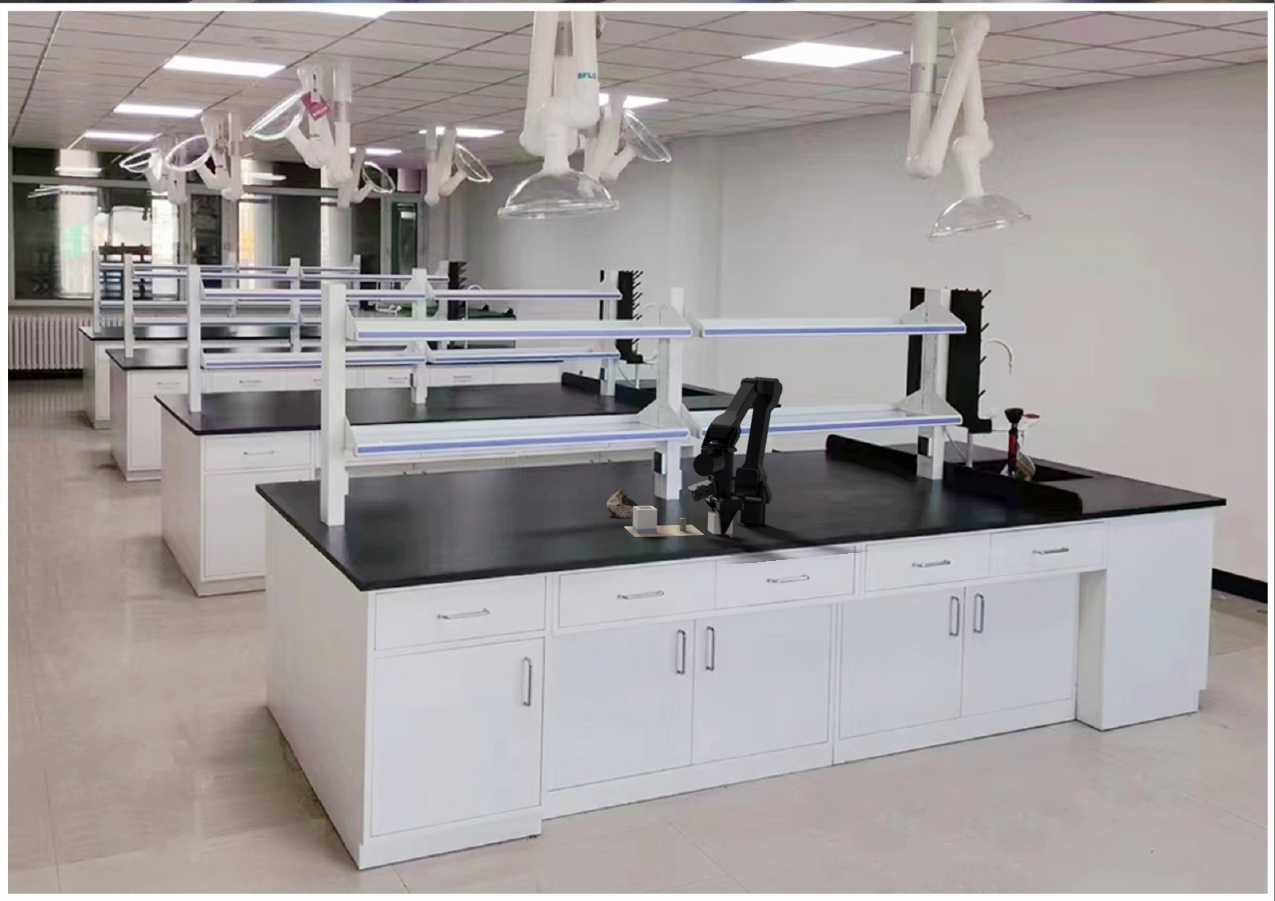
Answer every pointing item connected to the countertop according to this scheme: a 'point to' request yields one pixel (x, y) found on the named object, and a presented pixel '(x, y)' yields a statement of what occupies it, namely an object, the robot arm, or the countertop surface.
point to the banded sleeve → (717, 524)
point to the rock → (621, 504)
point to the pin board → (669, 530)
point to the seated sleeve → (644, 519)
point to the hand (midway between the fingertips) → (720, 531)
